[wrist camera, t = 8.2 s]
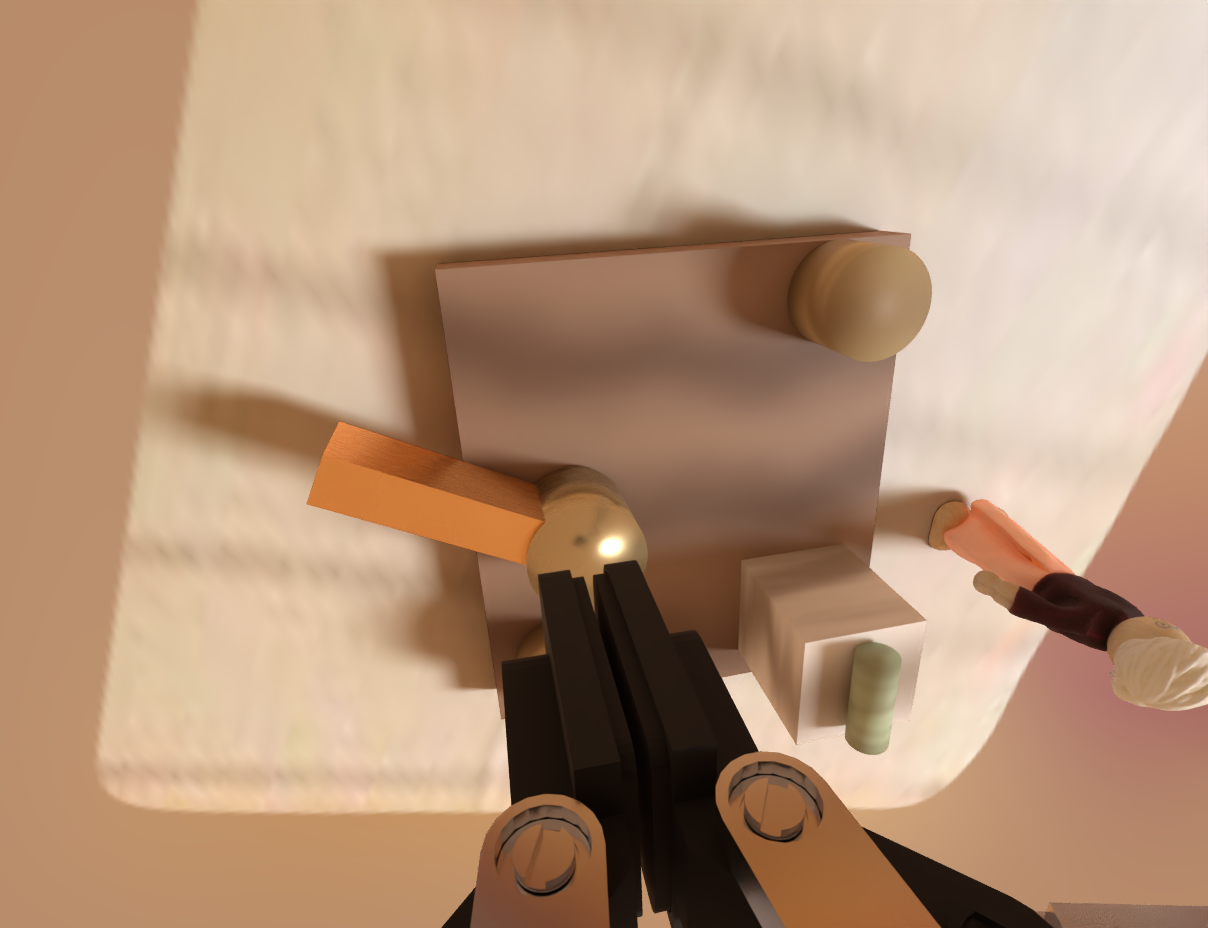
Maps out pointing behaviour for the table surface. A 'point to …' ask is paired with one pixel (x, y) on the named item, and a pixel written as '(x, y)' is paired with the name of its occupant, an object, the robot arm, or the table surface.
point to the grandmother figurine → (1075, 607)
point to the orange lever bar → (480, 505)
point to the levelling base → (712, 446)
